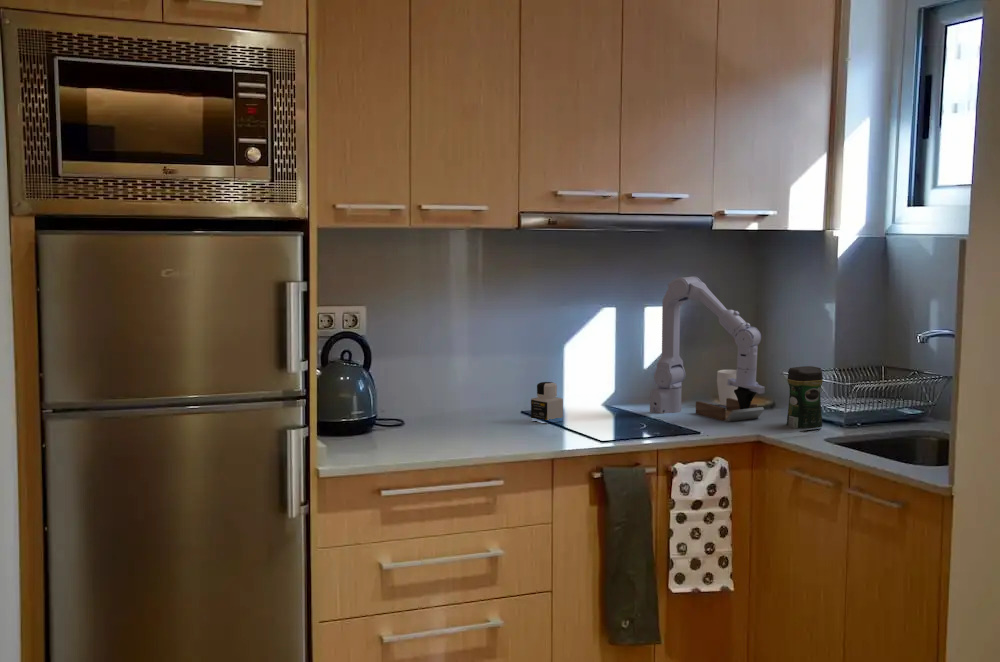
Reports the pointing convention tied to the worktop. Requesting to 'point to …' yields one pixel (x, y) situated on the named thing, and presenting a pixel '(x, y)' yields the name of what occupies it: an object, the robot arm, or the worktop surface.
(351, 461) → the worktop surface
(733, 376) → the cup
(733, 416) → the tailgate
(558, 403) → the medicine bottle
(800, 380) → the coffee jar
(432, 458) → the worktop surface
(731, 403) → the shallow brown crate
